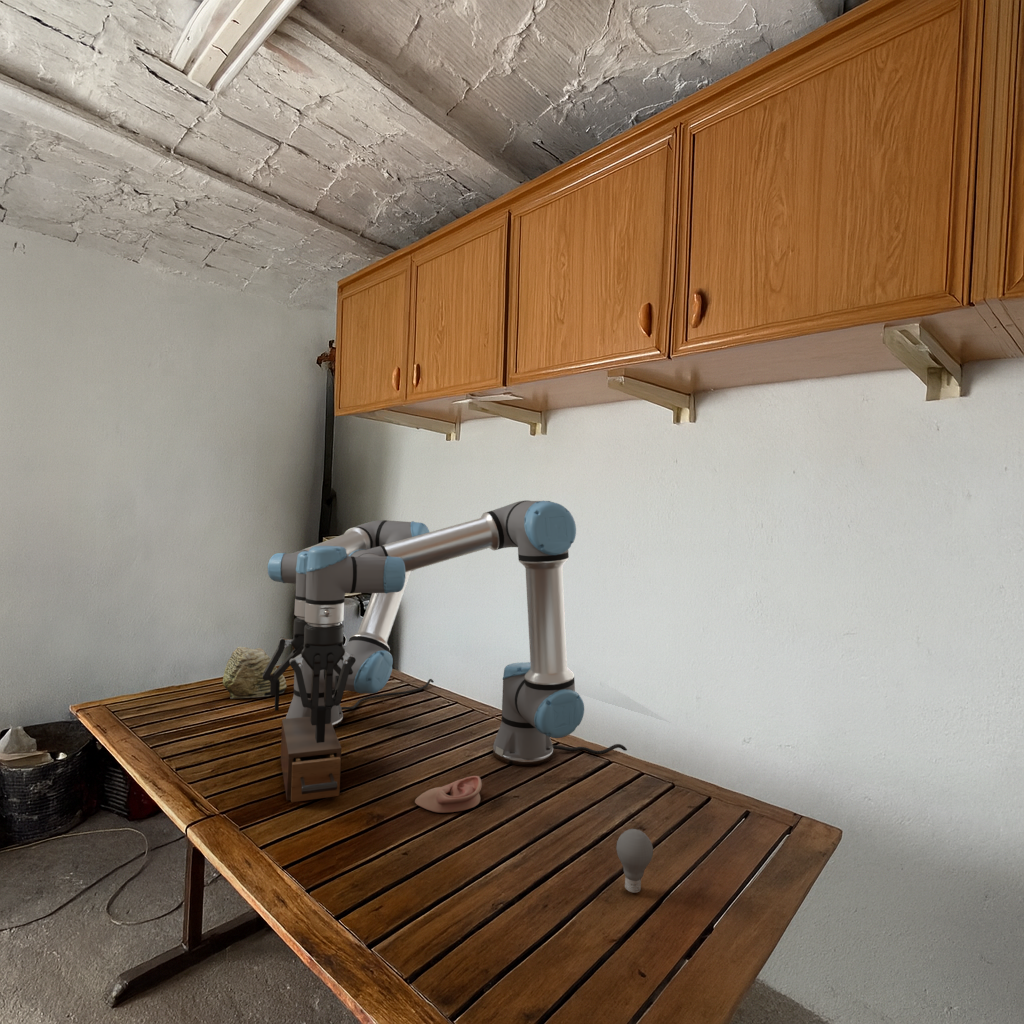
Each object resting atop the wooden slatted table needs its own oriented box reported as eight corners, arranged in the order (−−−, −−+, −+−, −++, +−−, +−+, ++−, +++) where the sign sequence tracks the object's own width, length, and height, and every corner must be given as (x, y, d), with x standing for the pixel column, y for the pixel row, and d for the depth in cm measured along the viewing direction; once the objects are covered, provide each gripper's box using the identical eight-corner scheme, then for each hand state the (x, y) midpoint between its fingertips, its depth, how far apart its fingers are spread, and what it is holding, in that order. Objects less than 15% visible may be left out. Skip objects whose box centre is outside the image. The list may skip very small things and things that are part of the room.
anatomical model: (409, 789, 130) (428, 766, 141) (409, 808, 130) (427, 784, 141) (472, 798, 127) (486, 774, 138) (471, 818, 127) (485, 792, 138)
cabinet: (339, 793, 136) (341, 747, 135) (286, 800, 131) (288, 753, 131) (327, 754, 155) (328, 714, 155) (280, 759, 151) (282, 719, 151)
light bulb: (610, 879, 108) (613, 822, 108) (644, 879, 109) (647, 822, 109) (619, 902, 102) (622, 840, 102) (655, 901, 103) (658, 840, 103)
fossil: (218, 695, 195) (220, 647, 195) (278, 685, 208) (279, 640, 207) (228, 703, 189) (230, 653, 188) (289, 692, 201) (290, 645, 201)
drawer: (343, 809, 127) (345, 770, 127) (293, 816, 123) (295, 777, 123) (326, 757, 151) (328, 725, 151) (284, 762, 147) (285, 729, 147)
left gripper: (254, 621, 141) (250, 716, 141) (367, 618, 151) (363, 706, 151) (253, 615, 148) (249, 705, 148) (361, 612, 158) (357, 697, 158)
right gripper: (291, 628, 121) (286, 750, 121) (360, 625, 126) (355, 743, 126) (288, 620, 128) (284, 736, 128) (354, 618, 133) (349, 730, 133)
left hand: (307, 706), depth 150 cm, fingers open, 13 cm apart
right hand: (319, 739), depth 127 cm, fingers closed
